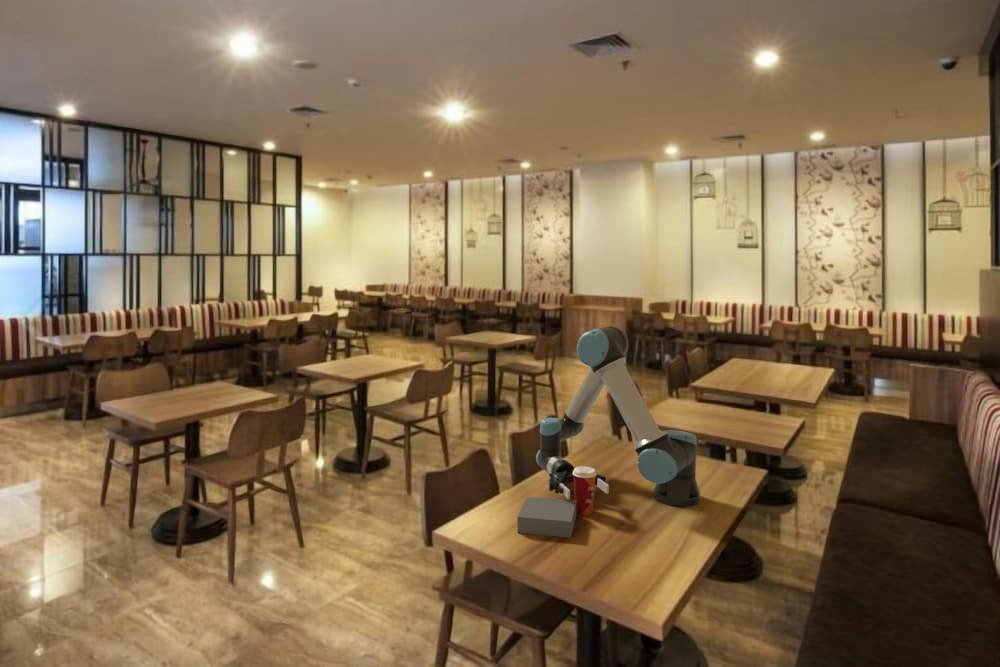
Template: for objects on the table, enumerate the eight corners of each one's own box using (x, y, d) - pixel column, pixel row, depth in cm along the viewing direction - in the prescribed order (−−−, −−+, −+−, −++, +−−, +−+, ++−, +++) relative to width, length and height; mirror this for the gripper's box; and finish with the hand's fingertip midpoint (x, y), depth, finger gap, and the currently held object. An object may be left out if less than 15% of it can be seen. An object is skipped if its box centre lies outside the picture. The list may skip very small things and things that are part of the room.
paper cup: (595, 517, 199) (596, 474, 198) (570, 515, 201) (571, 473, 199) (596, 507, 207) (597, 466, 205) (572, 505, 208) (573, 464, 207)
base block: (576, 515, 200) (576, 500, 200) (571, 537, 185) (571, 521, 184) (526, 511, 204) (526, 496, 203) (517, 532, 188) (517, 516, 188)
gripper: (593, 476, 224) (623, 498, 204) (527, 484, 216) (552, 508, 196) (593, 456, 223) (623, 476, 203) (527, 463, 215) (552, 485, 195)
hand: (588, 492), depth 200 cm, fingers open, 13 cm apart
